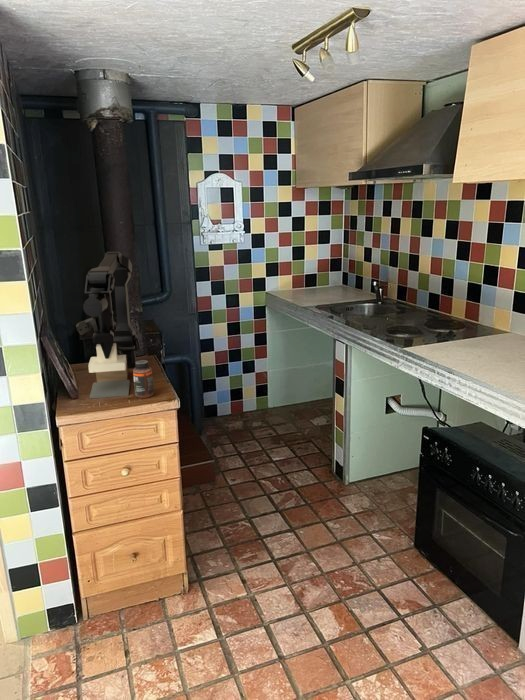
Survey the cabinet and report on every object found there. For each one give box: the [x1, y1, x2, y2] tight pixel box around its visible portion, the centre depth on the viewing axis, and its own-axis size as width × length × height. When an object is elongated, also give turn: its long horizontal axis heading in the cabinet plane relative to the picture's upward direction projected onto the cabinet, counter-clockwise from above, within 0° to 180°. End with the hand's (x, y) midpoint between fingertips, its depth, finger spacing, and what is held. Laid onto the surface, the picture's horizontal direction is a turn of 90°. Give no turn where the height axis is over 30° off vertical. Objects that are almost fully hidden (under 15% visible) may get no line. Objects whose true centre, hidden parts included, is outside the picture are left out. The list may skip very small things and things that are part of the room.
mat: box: [89, 379, 131, 400], centre depth 179 cm, size 14×12×1 cm
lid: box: [87, 343, 126, 374], centre depth 175 cm, size 9×11×8 cm
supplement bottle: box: [132, 359, 155, 399], centre depth 172 cm, size 6×6×11 cm
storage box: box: [95, 360, 129, 382], centre depth 189 cm, size 8×10×5 cm
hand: (107, 356), depth 176 cm, fingers closed on lid, 3 cm apart
